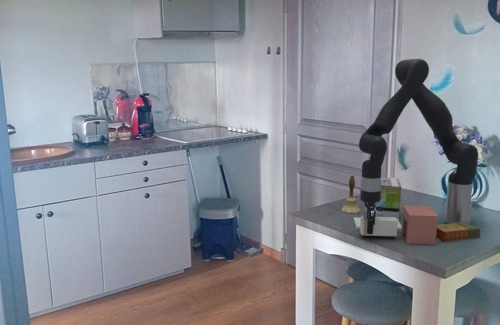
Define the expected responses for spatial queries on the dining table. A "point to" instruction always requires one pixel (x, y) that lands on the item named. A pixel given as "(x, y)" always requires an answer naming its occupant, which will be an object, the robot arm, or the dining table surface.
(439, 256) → the dining table surface
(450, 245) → the dining table surface
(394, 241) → the dining table surface
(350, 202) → the hand bell
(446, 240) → the carton
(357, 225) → the stub board
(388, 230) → the white pink-banded block
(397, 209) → the tea box
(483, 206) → the dining table surface
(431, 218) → the salmon pink box
